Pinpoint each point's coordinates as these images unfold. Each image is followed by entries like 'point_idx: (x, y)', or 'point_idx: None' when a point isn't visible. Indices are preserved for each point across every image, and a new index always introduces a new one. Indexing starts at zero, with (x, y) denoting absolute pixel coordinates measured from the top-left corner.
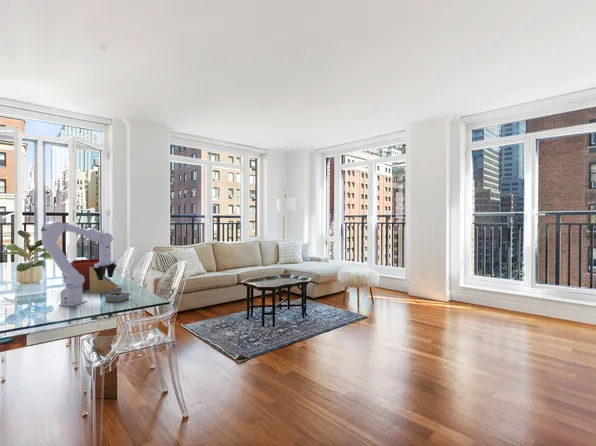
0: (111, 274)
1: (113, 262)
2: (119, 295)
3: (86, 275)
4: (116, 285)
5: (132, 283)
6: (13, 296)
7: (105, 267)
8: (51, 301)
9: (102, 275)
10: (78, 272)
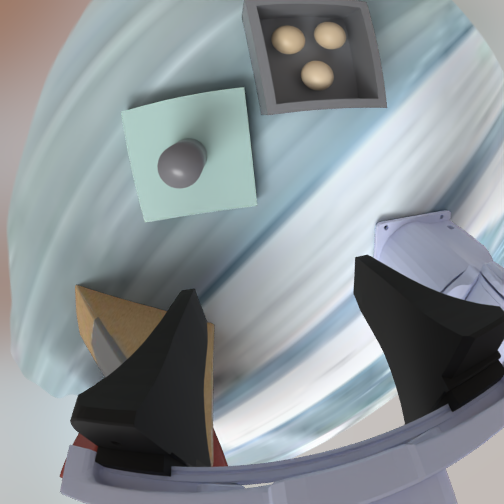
0: (189, 314)
1: (101, 479)
2: (354, 6)
3: None
4: (93, 312)
5: (15, 320)
6: (321, 437)
7: (96, 451)
8: (374, 351)
9: (400, 277)
10: None
